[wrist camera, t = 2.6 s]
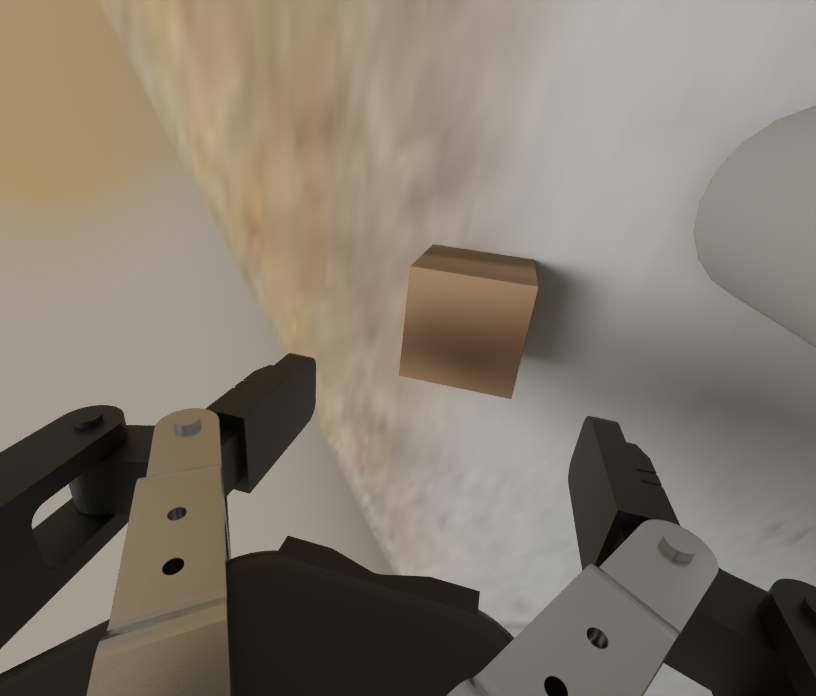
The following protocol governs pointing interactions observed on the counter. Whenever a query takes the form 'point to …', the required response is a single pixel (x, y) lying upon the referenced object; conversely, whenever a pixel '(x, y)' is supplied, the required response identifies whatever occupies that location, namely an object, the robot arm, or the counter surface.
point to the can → (766, 224)
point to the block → (467, 319)
